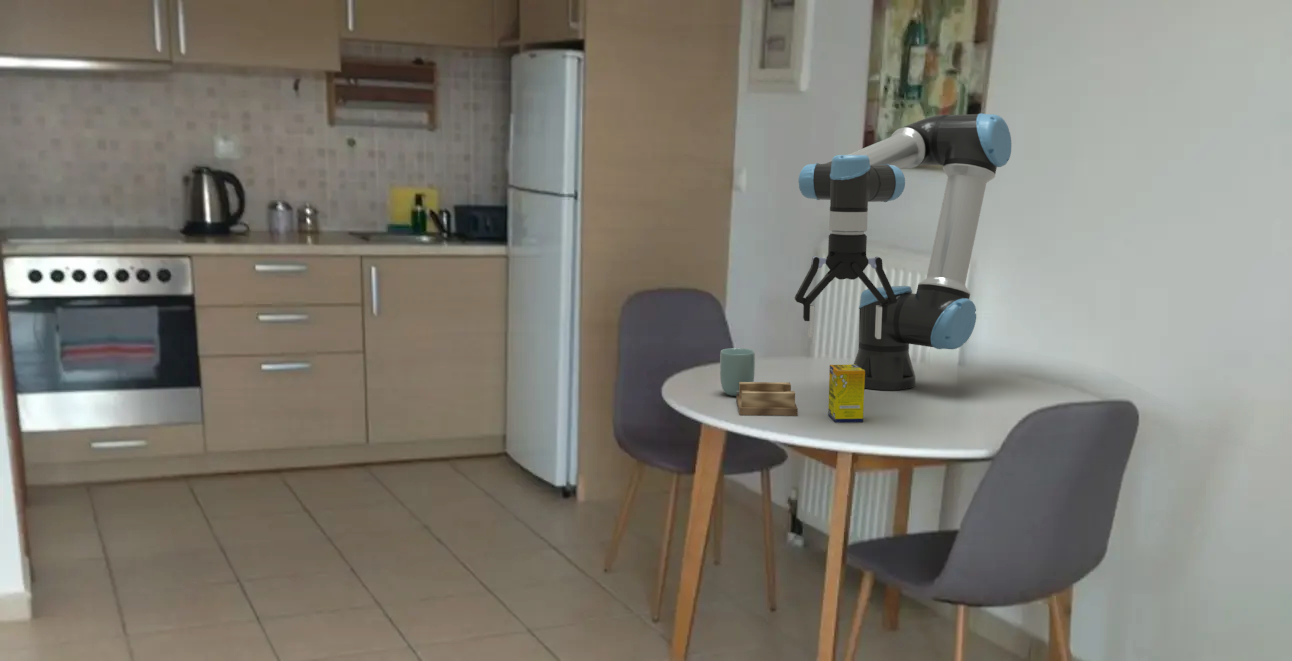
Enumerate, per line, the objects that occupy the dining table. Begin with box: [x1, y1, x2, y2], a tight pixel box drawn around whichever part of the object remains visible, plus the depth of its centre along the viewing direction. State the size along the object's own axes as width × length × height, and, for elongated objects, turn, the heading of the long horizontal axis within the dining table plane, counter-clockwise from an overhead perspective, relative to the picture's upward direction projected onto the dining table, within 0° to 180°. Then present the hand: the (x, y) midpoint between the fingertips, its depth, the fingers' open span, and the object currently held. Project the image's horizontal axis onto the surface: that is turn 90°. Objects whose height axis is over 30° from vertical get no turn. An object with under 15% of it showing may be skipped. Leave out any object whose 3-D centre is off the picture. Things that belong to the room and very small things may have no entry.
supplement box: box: [827, 363, 865, 424], centre depth 222 cm, size 6×6×11 cm
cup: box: [719, 347, 756, 397], centre depth 245 cm, size 8×8×10 cm
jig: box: [735, 381, 799, 417], centre depth 232 cm, size 12×13×4 cm
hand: (844, 337), depth 221 cm, fingers open, 13 cm apart
